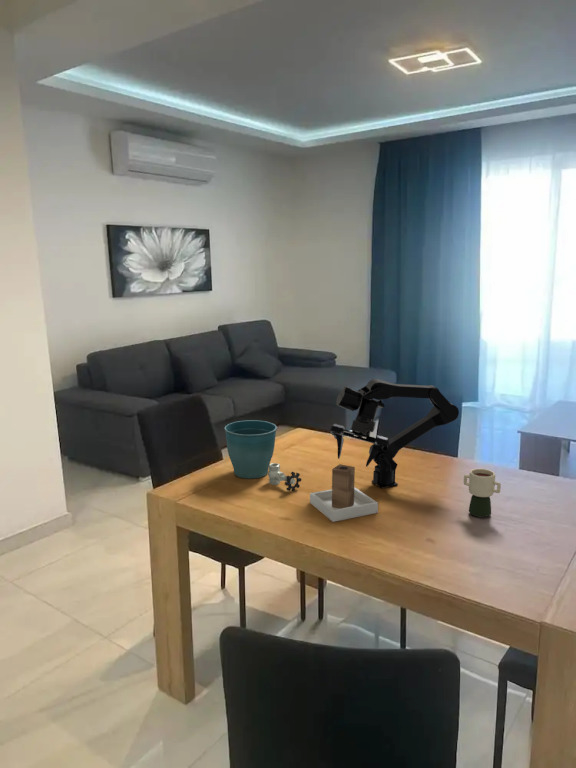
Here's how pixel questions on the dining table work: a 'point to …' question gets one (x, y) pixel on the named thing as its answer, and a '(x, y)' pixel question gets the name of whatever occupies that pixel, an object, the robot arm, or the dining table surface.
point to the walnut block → (343, 486)
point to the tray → (360, 508)
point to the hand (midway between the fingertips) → (352, 462)
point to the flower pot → (250, 447)
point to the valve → (282, 477)
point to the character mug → (481, 491)
